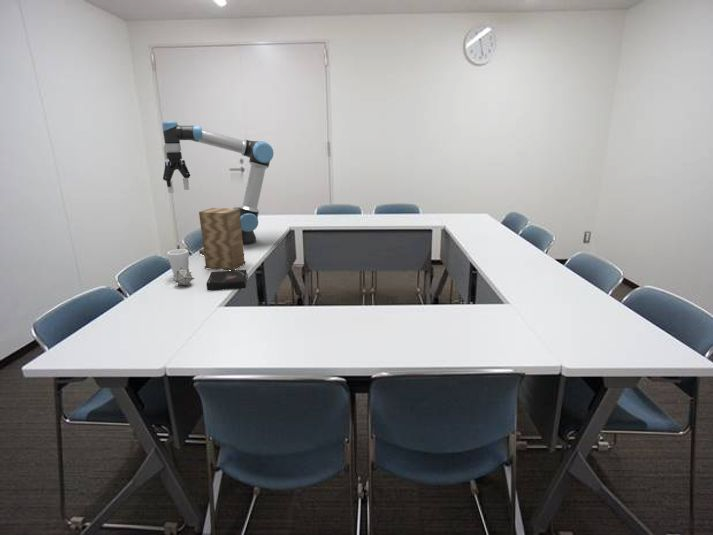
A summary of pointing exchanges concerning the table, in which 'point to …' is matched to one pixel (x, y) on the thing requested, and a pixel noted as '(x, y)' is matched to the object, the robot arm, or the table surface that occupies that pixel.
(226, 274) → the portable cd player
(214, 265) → the brown patterned box
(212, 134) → the robot arm
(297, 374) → the table surface
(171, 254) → the foam cup
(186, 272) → the grey spiky ball
